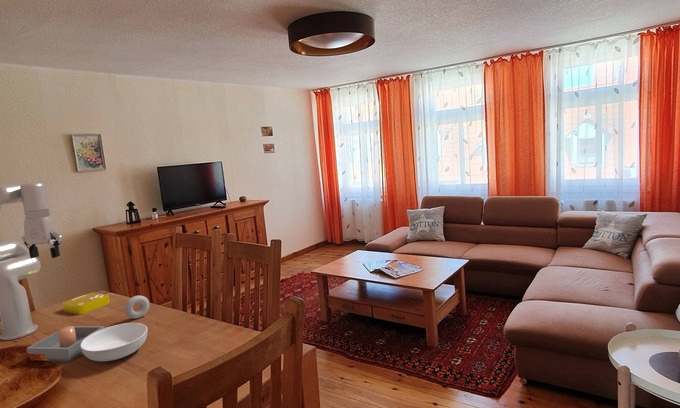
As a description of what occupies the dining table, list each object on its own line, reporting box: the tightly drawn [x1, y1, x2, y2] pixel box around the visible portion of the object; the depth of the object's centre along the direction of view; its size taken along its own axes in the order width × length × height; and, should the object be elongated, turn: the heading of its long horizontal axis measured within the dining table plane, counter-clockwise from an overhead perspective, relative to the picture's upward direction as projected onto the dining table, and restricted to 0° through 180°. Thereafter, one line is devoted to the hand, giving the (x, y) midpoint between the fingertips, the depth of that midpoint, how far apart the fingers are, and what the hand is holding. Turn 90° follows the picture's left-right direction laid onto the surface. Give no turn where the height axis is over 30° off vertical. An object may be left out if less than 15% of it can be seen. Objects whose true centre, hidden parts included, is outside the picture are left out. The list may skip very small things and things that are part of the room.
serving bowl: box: [80, 322, 148, 362], centre depth 139 cm, size 21×21×7 cm
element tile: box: [61, 292, 111, 315], centre depth 188 cm, size 15×15×5 cm
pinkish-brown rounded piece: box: [56, 325, 77, 348], centre depth 145 cm, size 5×5×7 cm
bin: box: [26, 325, 106, 363], centre depth 145 cm, size 17×17×5 cm
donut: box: [124, 295, 150, 320], centre depth 170 cm, size 10×4×10 cm, turn 136°
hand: (45, 257), depth 153 cm, fingers open, 9 cm apart
